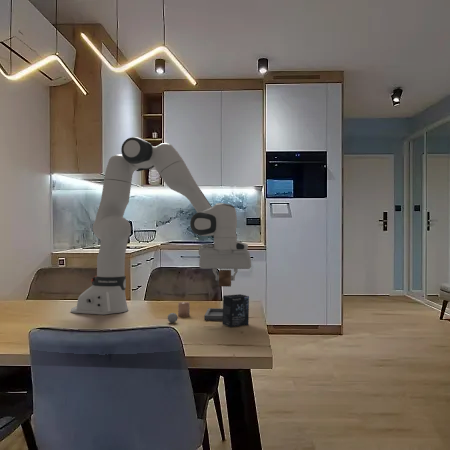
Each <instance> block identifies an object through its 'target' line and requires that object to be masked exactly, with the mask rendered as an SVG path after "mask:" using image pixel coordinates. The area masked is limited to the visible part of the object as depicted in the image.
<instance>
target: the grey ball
mask: <svg viewBox="0 0 450 450" xmlns="http://www.w3.org/2000/svg"><path fill="white" fill-rule="evenodd" d="M178 317H179V316H178V314H176V313H175V312H171V313H169V314H168V316H167V321H168V322H169V323H171V324H174V323H176V322H177V321H178Z"/></svg>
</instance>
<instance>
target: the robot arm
mask: <svg viewBox="0 0 450 450" xmlns="http://www.w3.org/2000/svg"><path fill="white" fill-rule="evenodd" d="M120 149H121V154H114V155H112V156H111V157H110V158H109V159H108V161H107V165H106V169H105V172H104V178H103V185H102V193H101V198H100V203H99V205H98V208H97V212H96V215H95V220H94V222H93V225H92V231H93V234H94V236H96V238H98V239H99V240H100V244H99V250H98V253H97V257H96V275H94V277H92V278H91V283H92V285H91V286H90V287H88V288H87V289H86V290H84V291H83V292H82V293H81V294H80V295H78V298H77V302H76V306H74V307H72V308H71V309H70V312H71V313H73V314H92V315H110V314H119V313H124V312H127V311H129V307H128V302H127V298H126V288H127V284H126V283H127V279H126V273H125V272H126V271H125V270H126V269H125V266H126V265H125V263H126V252H127V247H128V242H129V237H130V235H131V231H132V226H131V223H130V222H129V221H128V220H127V219H126V218H125V217H124V215H125V211H126V209H127V207H128V205H129V202H130V195H131V190H132V189H131V188H132V182H133V181H132V180H133V175H134V172H141V171H145V170H146V171H147V170H151V169H153V168H155V169H156V170H157V172H158V174H159V175H160V177H161V179H162V181H163V182H164V183H165V185H166V186H167V187H168V188H169V189H170V190H172V191H174V192H176V193H178V194H181V195H182V196H183V197H185V198H186V199H187V200H188V201H189V202H190V204H191V206H192V207H193V208H194V210H195V211H196V213H194V214H193V215H192V216H191V219H190V224H189V226H190V229H191V231H192V232H193V234H194V235H197V236H201V237H208V236H209V237H213V244H202V245H200V246H199V248H198V255H199V263H198V266H199V268H200V269H205V270H206V269H210V270H211V269H212V273H213V274H214V276H215V281H219V274H218V273H217V270H233V272H234V274H233V275H231V282H233V281H235V280H236V275H237V273H238V271H239V270H249V269H252V258H251V253H250V251H249V250H248V249H249V245H248V244H247V243H245V242H242V241H238V240H237V239H238V237H237V236H238V235H237V232H236V231H237V228H238V223H237V222H238V220H237V219H238V218H237V211H236V207H235V206H234V205H232V204H229V203H225V202H216V203H215V204H214V205H212V204H211V203H210V202H209V200H208V199H207V197H206V196H205V194H204V193H203V191H202V190H201V188H200V187H199V185H198V183H197V182H196V180H195V178H194V177H193V175H192V173H191V171H190V169H189V168H188V166H187V164H186V163H185V161H184V159H183V157H182V156H181V155H180V153H179V152H178V151H177V149H176V148H175V147H174V146H173V144H171V143H168V142H164V143H163V142H162V143H160V144H158V145H156V146H153V144H152V143H150V142H148V141H146V140H145V139H143V138H142V137H141V138H140V137H137V136H136V137H135V136H132V137H128V138H127V139H125V140H124V141H123V143H122V145H121V148H120Z"/></svg>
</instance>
